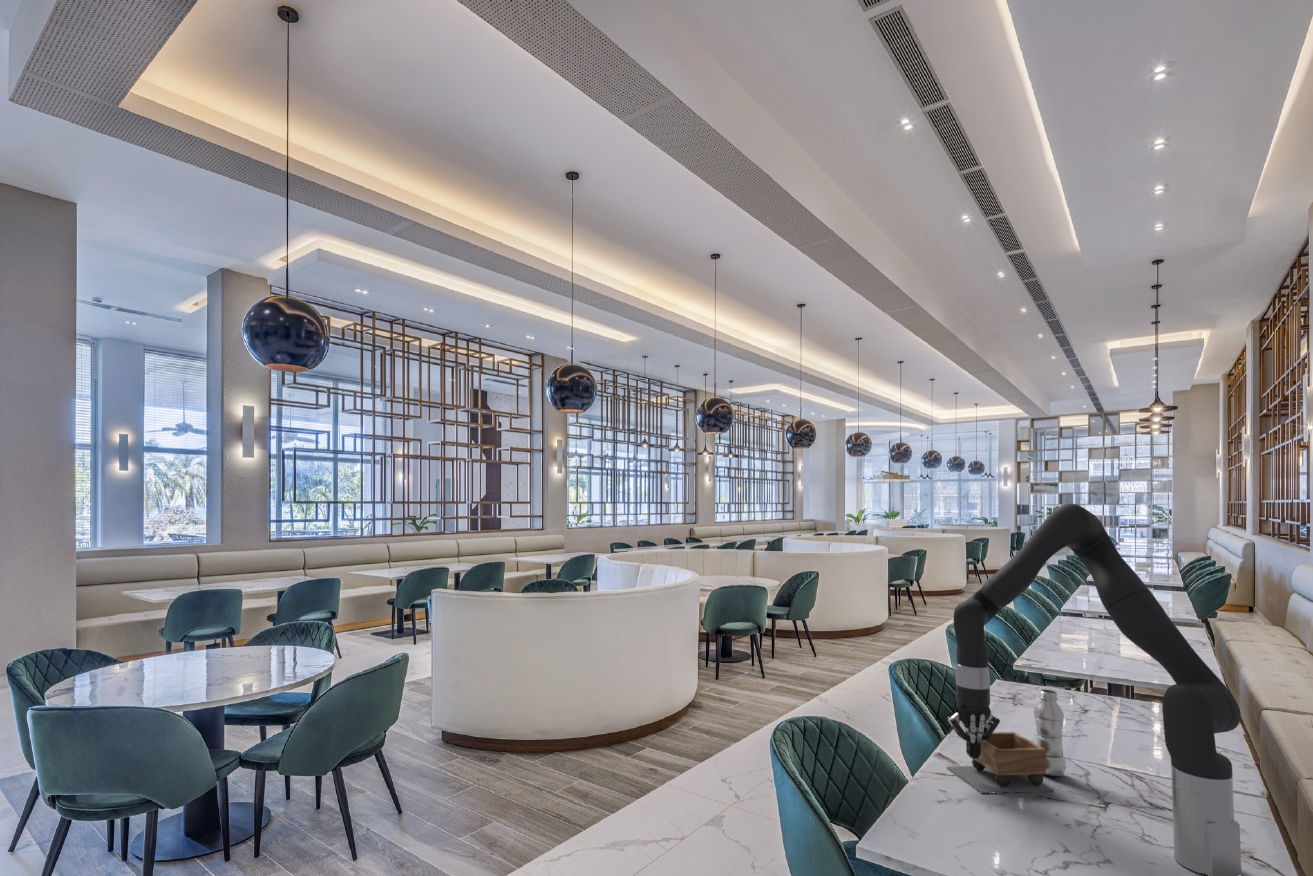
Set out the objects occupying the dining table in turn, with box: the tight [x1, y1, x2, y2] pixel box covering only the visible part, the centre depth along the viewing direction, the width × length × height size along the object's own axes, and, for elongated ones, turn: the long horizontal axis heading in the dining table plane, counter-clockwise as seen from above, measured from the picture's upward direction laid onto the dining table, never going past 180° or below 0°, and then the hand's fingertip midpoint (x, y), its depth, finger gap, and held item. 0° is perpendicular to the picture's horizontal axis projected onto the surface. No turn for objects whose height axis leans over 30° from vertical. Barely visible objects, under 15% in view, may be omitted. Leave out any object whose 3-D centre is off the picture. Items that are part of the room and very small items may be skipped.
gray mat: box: [946, 765, 1055, 794], centre depth 172 cm, size 15×18×1 cm
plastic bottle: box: [1033, 688, 1067, 777], centre depth 176 cm, size 6×7×20 cm
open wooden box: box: [971, 731, 1046, 787], centre depth 173 cm, size 12×12×8 cm
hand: (973, 757), depth 171 cm, fingers closed
